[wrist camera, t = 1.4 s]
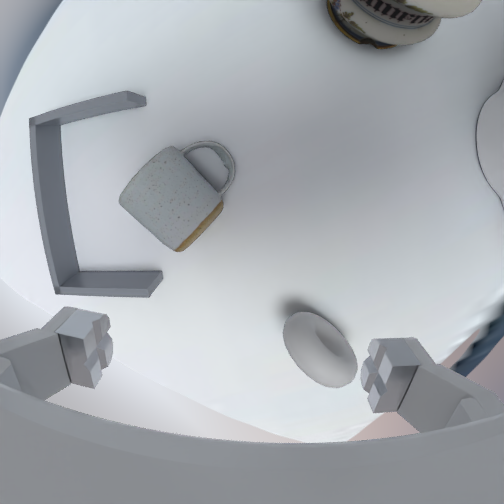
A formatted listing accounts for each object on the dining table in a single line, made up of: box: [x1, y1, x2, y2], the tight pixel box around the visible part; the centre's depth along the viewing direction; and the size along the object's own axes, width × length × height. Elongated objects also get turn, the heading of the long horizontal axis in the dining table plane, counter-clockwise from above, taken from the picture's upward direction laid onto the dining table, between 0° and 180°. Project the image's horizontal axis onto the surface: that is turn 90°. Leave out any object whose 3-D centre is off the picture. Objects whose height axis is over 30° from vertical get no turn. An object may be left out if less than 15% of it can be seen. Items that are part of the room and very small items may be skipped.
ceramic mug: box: [119, 141, 235, 252], centre depth 30 cm, size 11×8×8 cm
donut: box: [283, 312, 358, 388], centre depth 33 cm, size 10×4×10 cm, turn 52°
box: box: [29, 91, 163, 298], centre depth 32 cm, size 13×21×5 cm, turn 3°
